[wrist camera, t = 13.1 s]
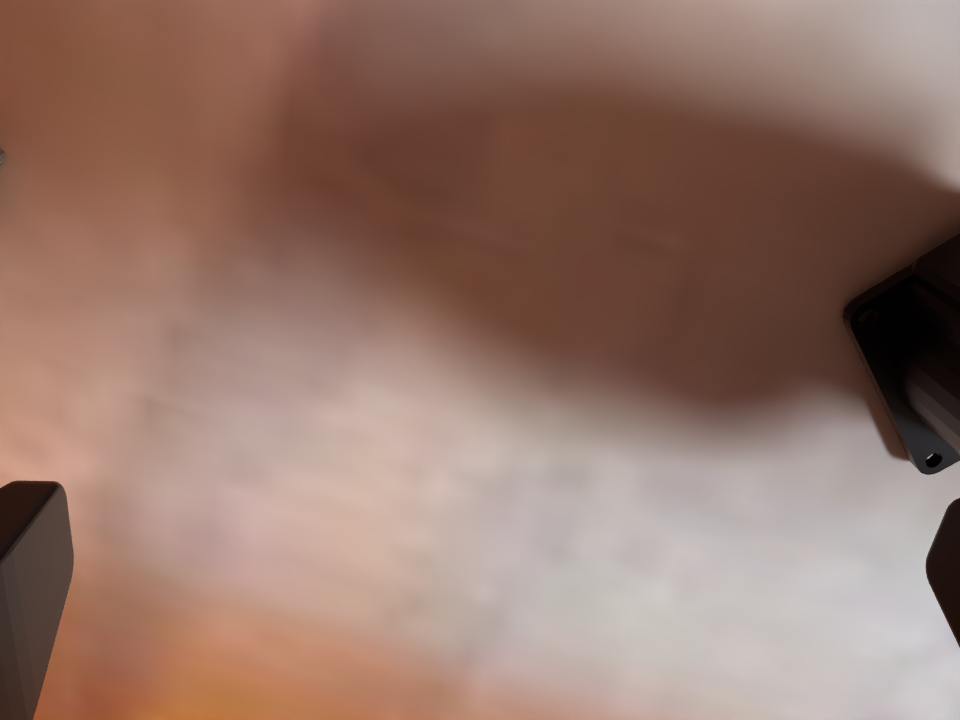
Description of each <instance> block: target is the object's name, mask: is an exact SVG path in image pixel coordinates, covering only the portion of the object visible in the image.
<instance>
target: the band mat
mask: <svg viewBox="0 0 960 720" xmlns="http://www.w3.org/2000/svg"><path fill="white" fill-rule="evenodd" d="M4 155H5V152H3V151H1V150H0V164H1V162H2V159H3V157H4Z"/></svg>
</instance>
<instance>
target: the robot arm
mask: <svg viewBox="0 0 960 720" xmlns="http://www.w3.org/2000/svg"><path fill="white" fill-rule="evenodd" d="M868 310H870V314H869V316H868V317H867V318H866V319H865V320H863V321H860V322H859V319H860V317H861V315H862V314H863V313H864V312H865V311H868ZM843 321H844V324H845V326H846V328H847V330H848V332H849V335H850V337H851V339H852V341H853V343H854V345H855V347H856V349H857V351H858V353H859V355H860V357H861V360H862V362H863V364H864V366H865V368H866V370H867V372H868V374H869V376H870V378H871V380H872V383H873V385H874V387H875V389H876V391H877V393H878V395H879V397H880V399H881V401H882V403H883V405H884V408H885V410H886V412H887V414H888V416H889V418H890V420H891V422H892V424H893V426H894V428H895V430H896V433H897V435H898V437H899V439H900V441H901V443H902V445H903V447H904V449H905V451H906V453H907V456H908V458H909V460H910V462H911V463H912V464H913V465H914V466H915V467H916V468H917V469H918V470H919V471H920V472H921V473H923V474H926V475H929V474H935V473H937V472H940V471H942V470H943V469H945V468H947V467H949V466H951V465H952V464H954V463H956V462H958V461H960V234H959V235H957V236H955V237H954V238H952V239H950V240H949V241H947V242H945V243H944V244H942V245H940V246H939V247H937V248H935V249H934V250H932V251H930V252H929V253H927V254H925V255H924V256H922V257H920V258H919V259H918V260H917V261H916V262H915V263H913V264H911V265H910V266H908V267H906V268H905V269H903V270H901V271H900V272H898V273H896V274H894V275H893V276H891V277H889V278H888V279H886V280H884V281H883V282H881V283H879V284H878V285H876V286H874V287H873V288H871V289H869V290H868V291H866V292H864V293H863V294H861V295H859V296H858V297H856V298H854V299H853V300H852V301H851V302H850V303H848V305H847V306H846V308H845V309H844V313H843ZM933 453H934V454H933ZM931 454H933V455H932V456H931V457H930V458H929V459H927V457H928V456H930V455H931ZM73 564H74V554H73V545H72V537H71V529H70V521H69V513H68V505H67V497H66V493H65V490H64V488H63V486H62V485H61V484H59V483H58V482H55V481H13V482H11V483H9V484H7V485H5V486H3V487H1V488H0V720H33V718H34V714H35V711H36V707H37V704H38V700H39V697H40V693H41V689H42V686H43V682H44V678H45V675H46V671H47V667H48V664H49V660H50V656H51V652H52V649H53V645H54V641H55V638H56V634H57V630H58V627H59V623H60V619H61V616H62V612H63V608H64V605H65V601H66V597H67V594H68V590H69V586H70V583H71V578H72V573H73ZM926 574H927V579H928V581H929V584H930V586H931V588H932V590H933V592H934V594H935V597H936V599H937V601H938V603H939V605H940V607H941V609H942V611H943V613H944V615H945V618H946V620H947V622H948V624H949V626H950V628H951V630H952V632H953V634H954V636H955V639H956V641H957V643H958V645H959V647H960V498H959V499H956V500H954V501H953V502H952V503H951V504H950V505H949V506H948V508H947V510H946V512H945V514H944V517H943V519H942V522H941V524H940V526H939V529H938V531H937V534H936V536H935V538H934V541H933V543H932V545H931V548H930V550H929V553H928V555H927V558H926Z"/></svg>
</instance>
